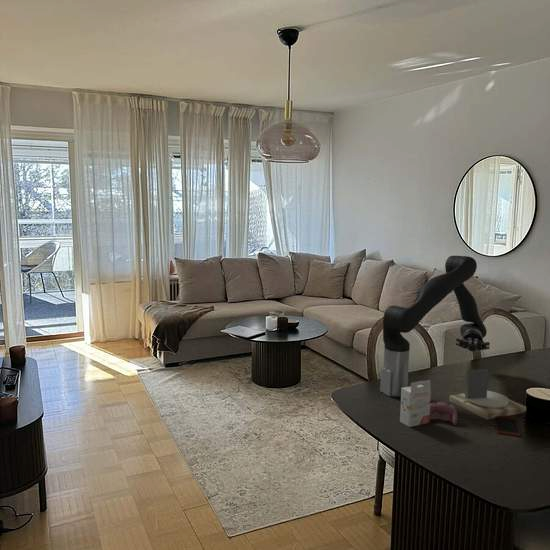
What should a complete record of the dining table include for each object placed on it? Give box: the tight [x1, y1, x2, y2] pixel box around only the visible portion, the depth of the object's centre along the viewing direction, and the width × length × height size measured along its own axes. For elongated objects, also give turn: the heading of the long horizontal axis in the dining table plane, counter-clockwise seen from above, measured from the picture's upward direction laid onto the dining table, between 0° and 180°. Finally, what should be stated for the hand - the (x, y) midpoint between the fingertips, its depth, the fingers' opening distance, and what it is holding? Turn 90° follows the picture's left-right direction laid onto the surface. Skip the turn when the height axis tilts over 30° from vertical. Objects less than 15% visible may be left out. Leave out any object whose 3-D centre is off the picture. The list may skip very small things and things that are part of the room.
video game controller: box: [429, 401, 458, 426], centre depth 171 cm, size 10×5×7 cm, turn 70°
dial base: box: [448, 389, 527, 421], centre depth 184 cm, size 18×18×2 cm
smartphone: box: [493, 416, 523, 438], centre depth 168 cm, size 7×1×15 cm
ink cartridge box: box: [399, 379, 432, 428], centre depth 168 cm, size 9×5×15 cm, turn 115°
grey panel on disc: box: [464, 368, 510, 408], centre depth 183 cm, size 15×14×11 cm
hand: (472, 348), depth 193 cm, fingers closed
